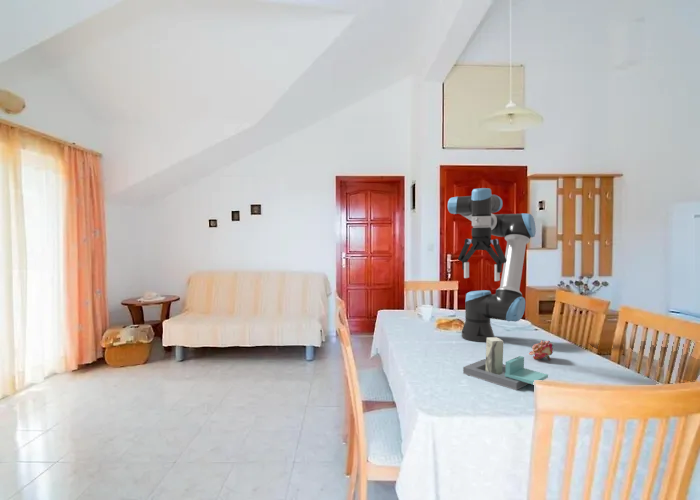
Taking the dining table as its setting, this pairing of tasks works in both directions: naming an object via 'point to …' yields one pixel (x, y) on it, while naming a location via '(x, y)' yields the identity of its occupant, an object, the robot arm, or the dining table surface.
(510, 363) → the teal angle bracket
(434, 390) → the dining table surface
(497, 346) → the box
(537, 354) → the flower
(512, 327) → the dining table surface
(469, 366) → the socket block
